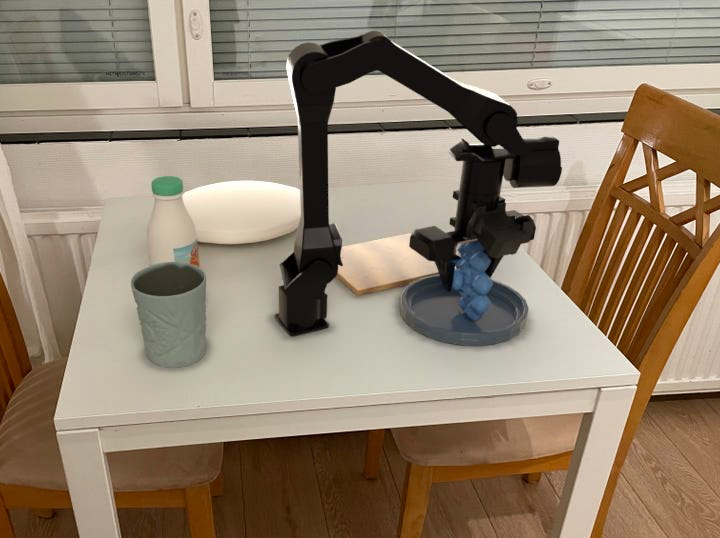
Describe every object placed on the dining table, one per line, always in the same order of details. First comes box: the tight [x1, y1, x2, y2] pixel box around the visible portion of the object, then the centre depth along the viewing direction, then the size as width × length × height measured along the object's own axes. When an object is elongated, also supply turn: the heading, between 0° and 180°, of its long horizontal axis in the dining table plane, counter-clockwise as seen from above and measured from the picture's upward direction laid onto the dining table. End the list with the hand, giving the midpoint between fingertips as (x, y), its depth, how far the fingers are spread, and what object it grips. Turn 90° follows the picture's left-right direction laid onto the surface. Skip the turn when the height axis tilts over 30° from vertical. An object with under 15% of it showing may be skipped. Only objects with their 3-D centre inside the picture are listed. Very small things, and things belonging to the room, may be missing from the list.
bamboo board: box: [336, 232, 457, 297], centre depth 132 cm, size 20×16×1 cm
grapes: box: [452, 240, 494, 321], centre depth 114 cm, size 12×7×12 cm, turn 6°
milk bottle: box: [146, 175, 201, 268], centre depth 116 cm, size 8×8×20 cm
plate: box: [182, 180, 301, 245], centre depth 145 cm, size 28×6×27 cm
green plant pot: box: [130, 262, 207, 369], centre depth 105 cm, size 10×10×12 cm
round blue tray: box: [399, 274, 529, 347], centre depth 117 cm, size 19×19×2 cm
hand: (466, 286), depth 115 cm, fingers closed on grapes, 6 cm apart
